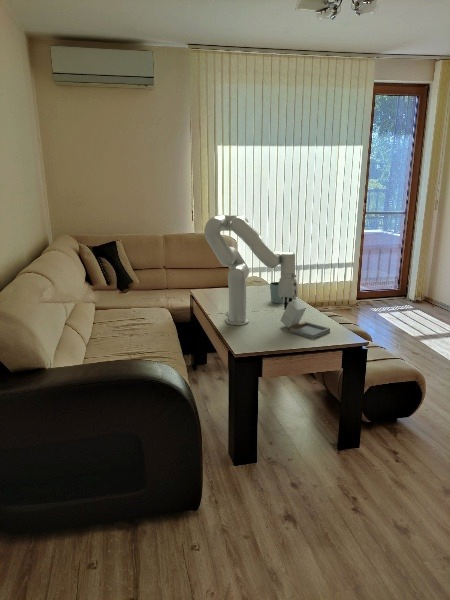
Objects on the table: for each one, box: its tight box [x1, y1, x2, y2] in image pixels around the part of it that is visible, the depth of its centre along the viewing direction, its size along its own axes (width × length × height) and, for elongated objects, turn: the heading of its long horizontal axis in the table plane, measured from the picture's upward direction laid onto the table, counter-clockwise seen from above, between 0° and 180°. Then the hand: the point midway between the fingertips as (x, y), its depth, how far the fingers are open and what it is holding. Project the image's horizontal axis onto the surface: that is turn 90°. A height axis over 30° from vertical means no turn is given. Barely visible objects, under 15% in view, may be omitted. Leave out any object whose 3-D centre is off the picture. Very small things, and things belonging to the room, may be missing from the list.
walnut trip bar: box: [286, 321, 308, 333], centre depth 229 cm, size 2×15×2 cm, turn 134°
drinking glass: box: [269, 281, 284, 304], centre depth 281 cm, size 10×10×12 cm
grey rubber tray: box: [289, 321, 331, 340], centre depth 224 cm, size 14×15×2 cm
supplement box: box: [280, 299, 307, 328], centre depth 230 cm, size 7×7×13 cm
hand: (287, 309), depth 233 cm, fingers closed
